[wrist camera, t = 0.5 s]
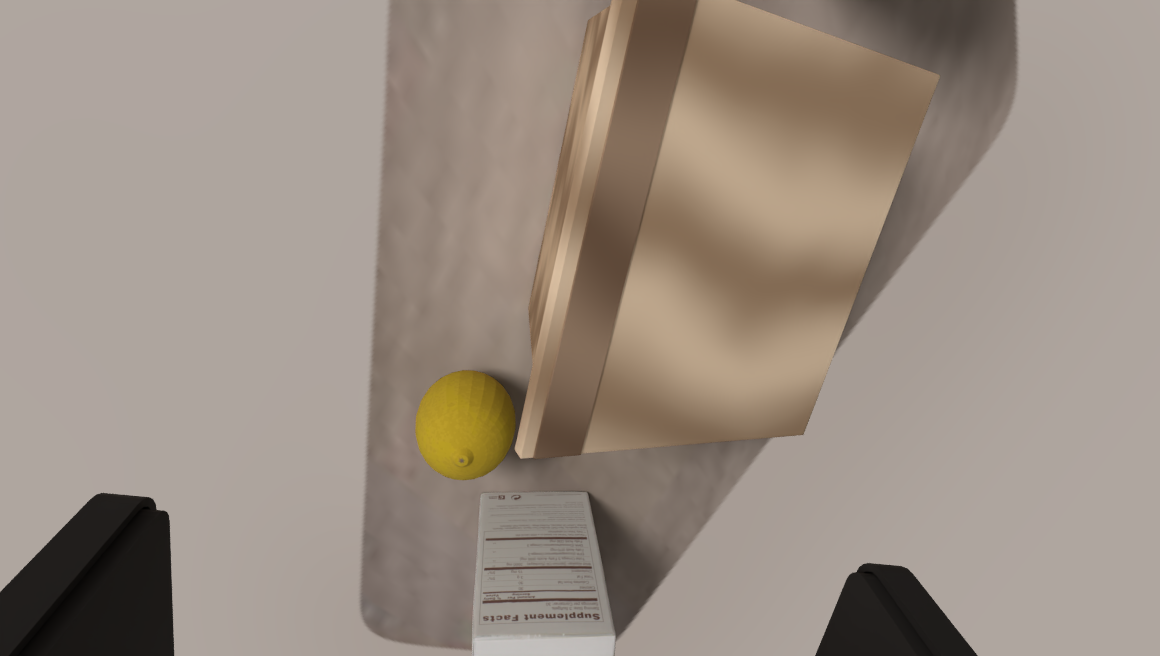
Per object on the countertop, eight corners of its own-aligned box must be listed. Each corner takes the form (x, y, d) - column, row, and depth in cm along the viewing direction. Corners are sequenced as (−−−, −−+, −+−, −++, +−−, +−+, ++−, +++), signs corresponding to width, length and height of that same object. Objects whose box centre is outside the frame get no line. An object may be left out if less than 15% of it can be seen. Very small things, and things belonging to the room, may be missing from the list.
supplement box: (583, 575, 47) (608, 742, 35) (478, 577, 46) (468, 749, 35) (591, 487, 45) (620, 636, 33) (479, 488, 44) (468, 640, 32)
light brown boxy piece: (588, 20, 34) (617, 1, 25) (817, 79, 36) (923, 81, 27) (528, 308, 39) (534, 380, 30) (731, 344, 42) (795, 422, 32)
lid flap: (619, -37, 19) (632, -39, 19) (927, 74, 27) (942, 75, 26) (514, 449, 25) (521, 459, 24) (794, 428, 32) (804, 435, 32)
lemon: (533, 386, 41) (538, 454, 34) (475, 445, 42) (469, 524, 35) (463, 332, 40) (453, 392, 32) (405, 396, 41) (382, 468, 33)
